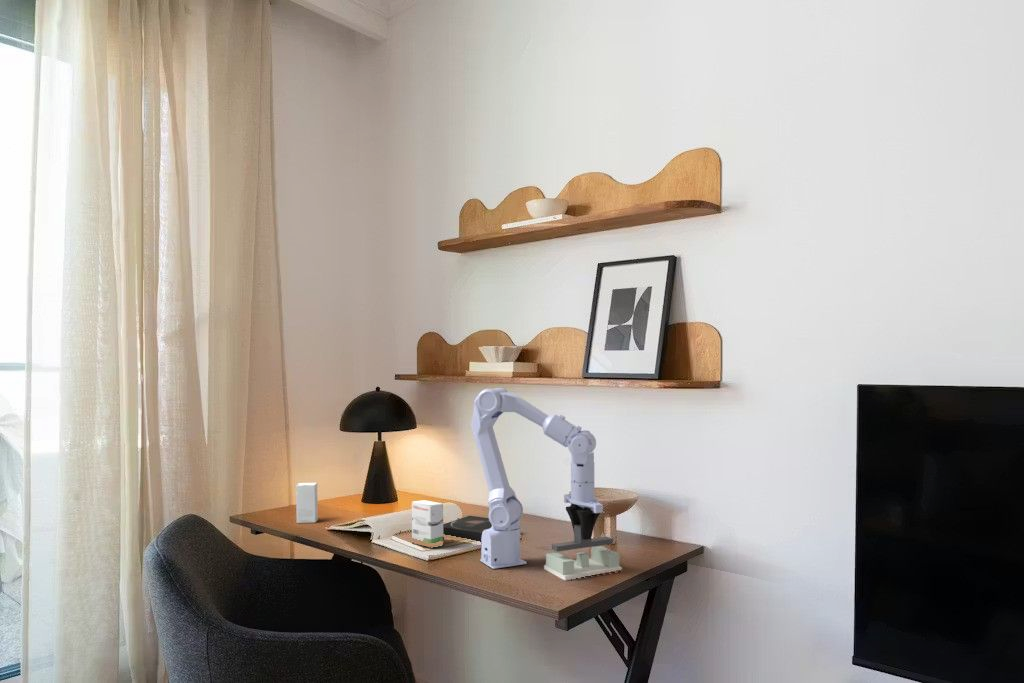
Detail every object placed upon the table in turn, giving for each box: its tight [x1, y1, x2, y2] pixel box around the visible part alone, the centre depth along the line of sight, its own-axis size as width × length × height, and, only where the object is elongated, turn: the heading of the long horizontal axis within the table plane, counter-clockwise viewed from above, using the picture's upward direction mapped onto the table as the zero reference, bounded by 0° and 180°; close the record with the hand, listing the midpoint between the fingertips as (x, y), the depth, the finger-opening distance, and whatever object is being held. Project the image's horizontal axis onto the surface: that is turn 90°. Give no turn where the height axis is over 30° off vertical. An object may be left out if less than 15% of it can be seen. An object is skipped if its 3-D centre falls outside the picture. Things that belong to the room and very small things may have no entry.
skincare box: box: [295, 482, 319, 524], centre depth 218 cm, size 6×4×12 cm
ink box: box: [411, 499, 445, 543], centre depth 191 cm, size 9×5×12 cm, turn 47°
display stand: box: [543, 545, 623, 582], centre depth 167 cm, size 16×10×4 cm, turn 117°
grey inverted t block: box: [551, 524, 614, 553], centre depth 167 cm, size 16×3×5 cm, turn 117°
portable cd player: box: [443, 515, 492, 542], centre depth 200 cm, size 16×17×4 cm
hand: (582, 537), depth 167 cm, fingers closed on grey inverted t block, 3 cm apart
